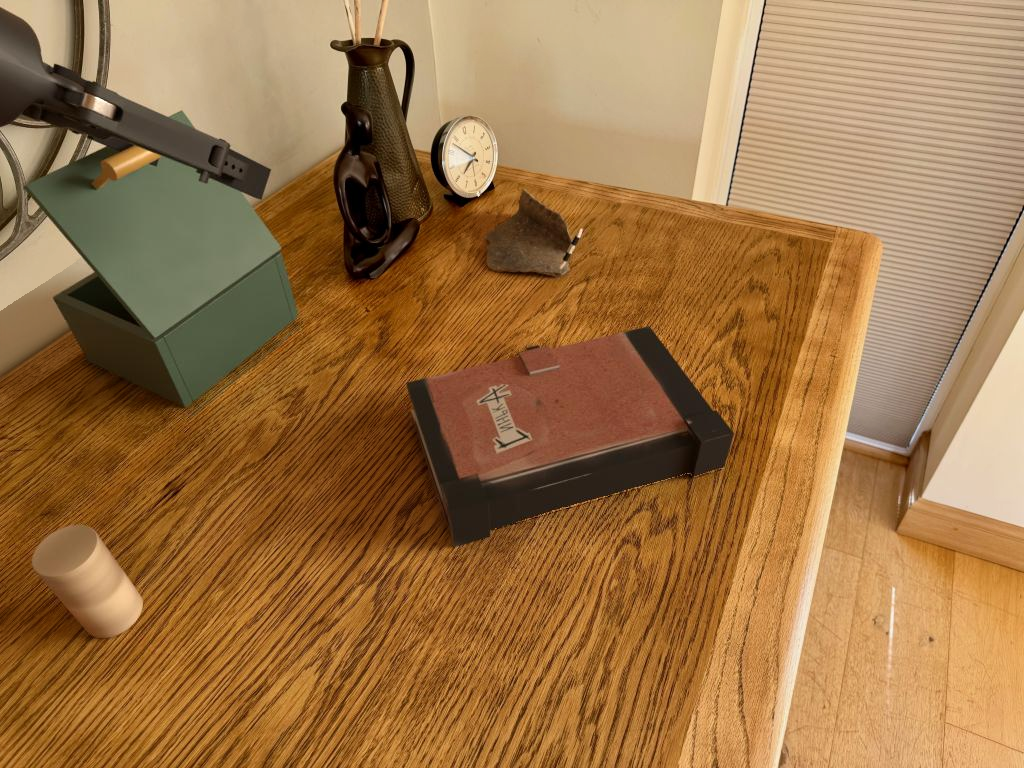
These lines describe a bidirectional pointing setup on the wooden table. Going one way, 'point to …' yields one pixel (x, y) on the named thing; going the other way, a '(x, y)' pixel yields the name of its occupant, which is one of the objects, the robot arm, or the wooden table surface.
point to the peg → (88, 580)
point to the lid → (154, 230)
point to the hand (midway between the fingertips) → (209, 167)
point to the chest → (182, 332)
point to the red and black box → (561, 429)
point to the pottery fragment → (531, 241)
